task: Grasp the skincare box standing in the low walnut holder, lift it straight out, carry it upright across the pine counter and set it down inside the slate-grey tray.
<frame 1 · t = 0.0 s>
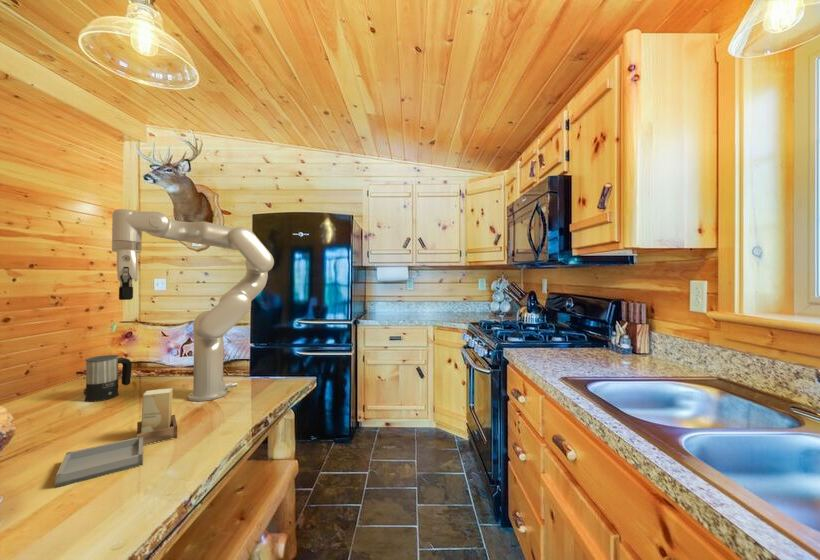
hand: (126, 299, 111), 37 cm above the table, tool pointing down, fingers open, 9 cm apart
tray: (104, 464, 78), on the table
holder: (156, 435, 93), on the table
milk frother: (99, 396, 125), on the table
skincare box: (156, 436, 93), resting in holder
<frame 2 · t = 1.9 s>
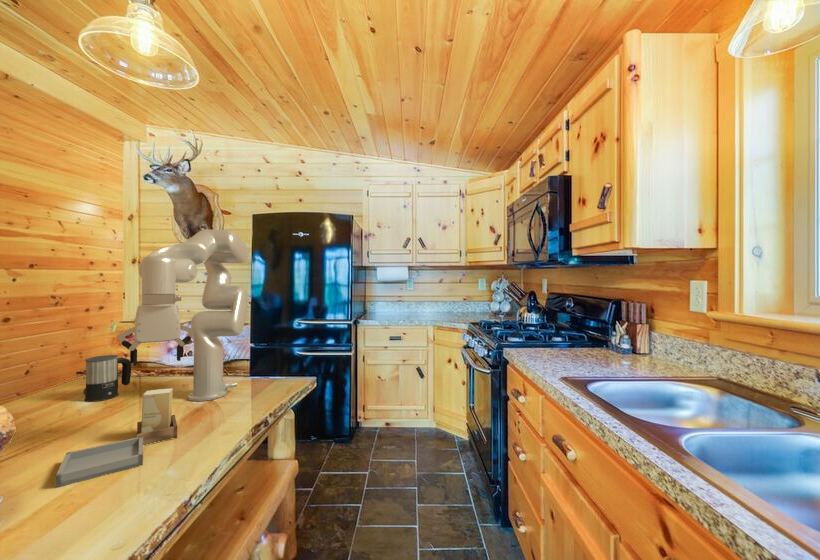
hand: (157, 362, 93), 20 cm above the table, tool pointing down, fingers open, 9 cm apart
nothing on the table moved.
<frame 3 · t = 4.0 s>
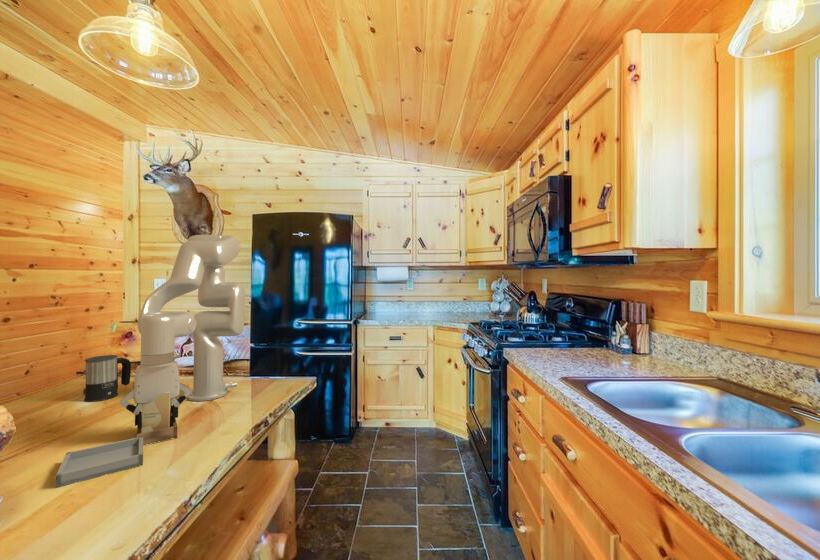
hand: (157, 423, 93), 3 cm above the table, tool pointing down, fingers closed on skincare box, 6 cm apart
skincare box: (156, 436, 93), resting in holder, touching gripper
everything else where it was.
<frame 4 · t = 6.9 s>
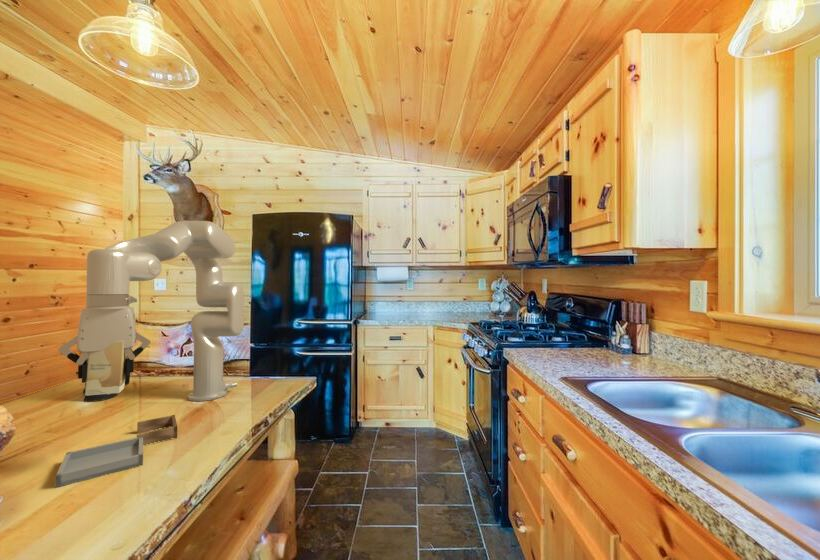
hand: (107, 377, 78), 20 cm above the table, tool pointing down, fingers closed on skincare box, 6 cm apart
skincare box: (106, 393, 78), point 16 cm above the table, touching gripper
everything else where it was.
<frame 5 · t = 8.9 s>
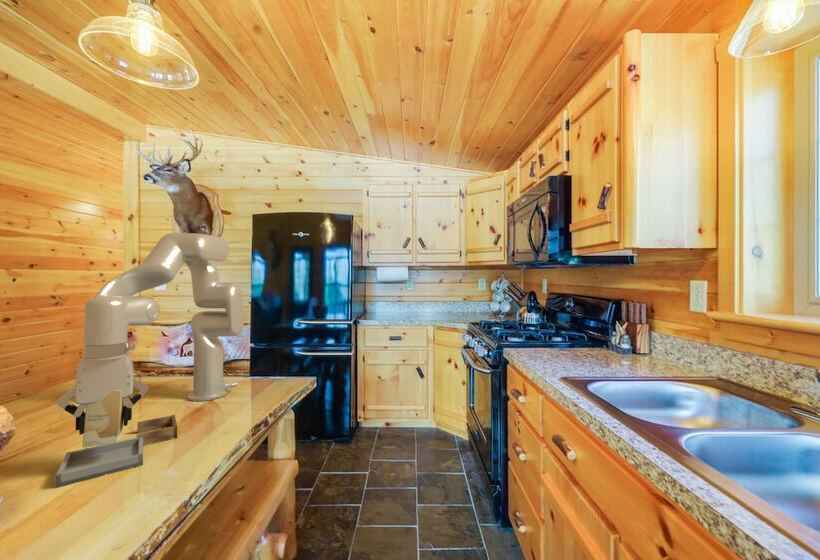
hand: (104, 427, 78), 9 cm above the table, tool pointing down, fingers closed on skincare box, 6 cm apart
skincare box: (103, 442, 78), point 5 cm above the table, touching gripper
everything else where it was.
when the fingers open (5 cm above the table, at t = 10.2 s): skincare box stays where it is, resting on tray.
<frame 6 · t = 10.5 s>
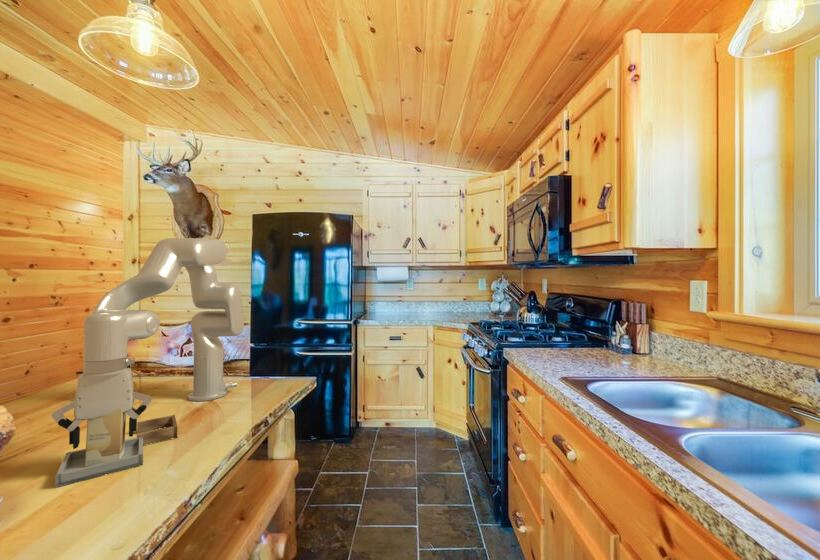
hand: (104, 440, 78), 6 cm above the table, tool pointing down, fingers open, 9 cm apart
skincare box: (106, 460, 78), point 1 cm above the table, touching tray
everything else where it was.
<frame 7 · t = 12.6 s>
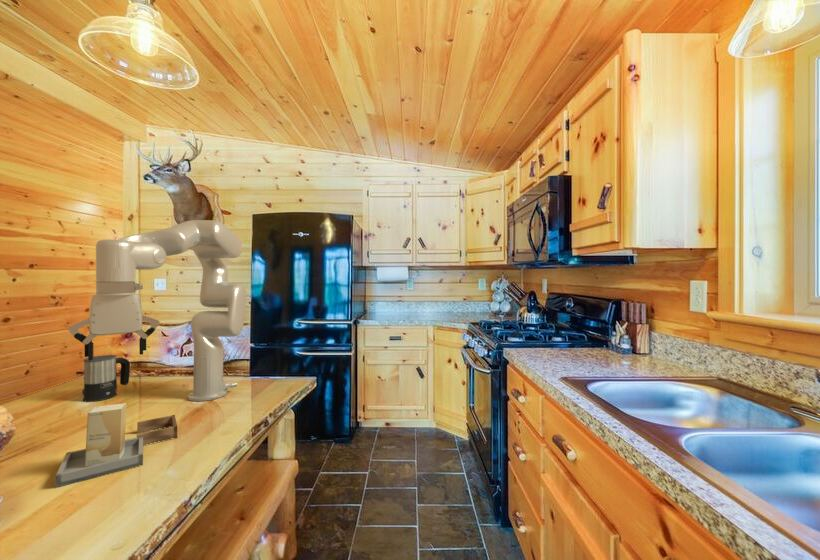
hand: (117, 356, 85), 23 cm above the table, tool pointing down, fingers open, 9 cm apart
nothing on the table moved.
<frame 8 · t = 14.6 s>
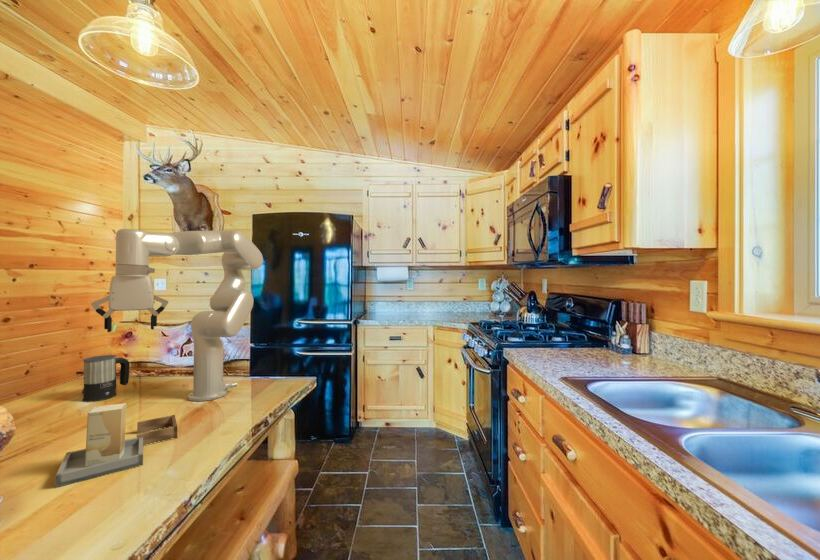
hand: (131, 330, 98), 28 cm above the table, tool pointing down, fingers open, 9 cm apart
nothing on the table moved.
at the end: skincare box inside the target area on the tray (0.4 cm from its centre), point 0.6 cm above the tray's base; skincare box tilted 0°; the gripper is holding nothing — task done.
